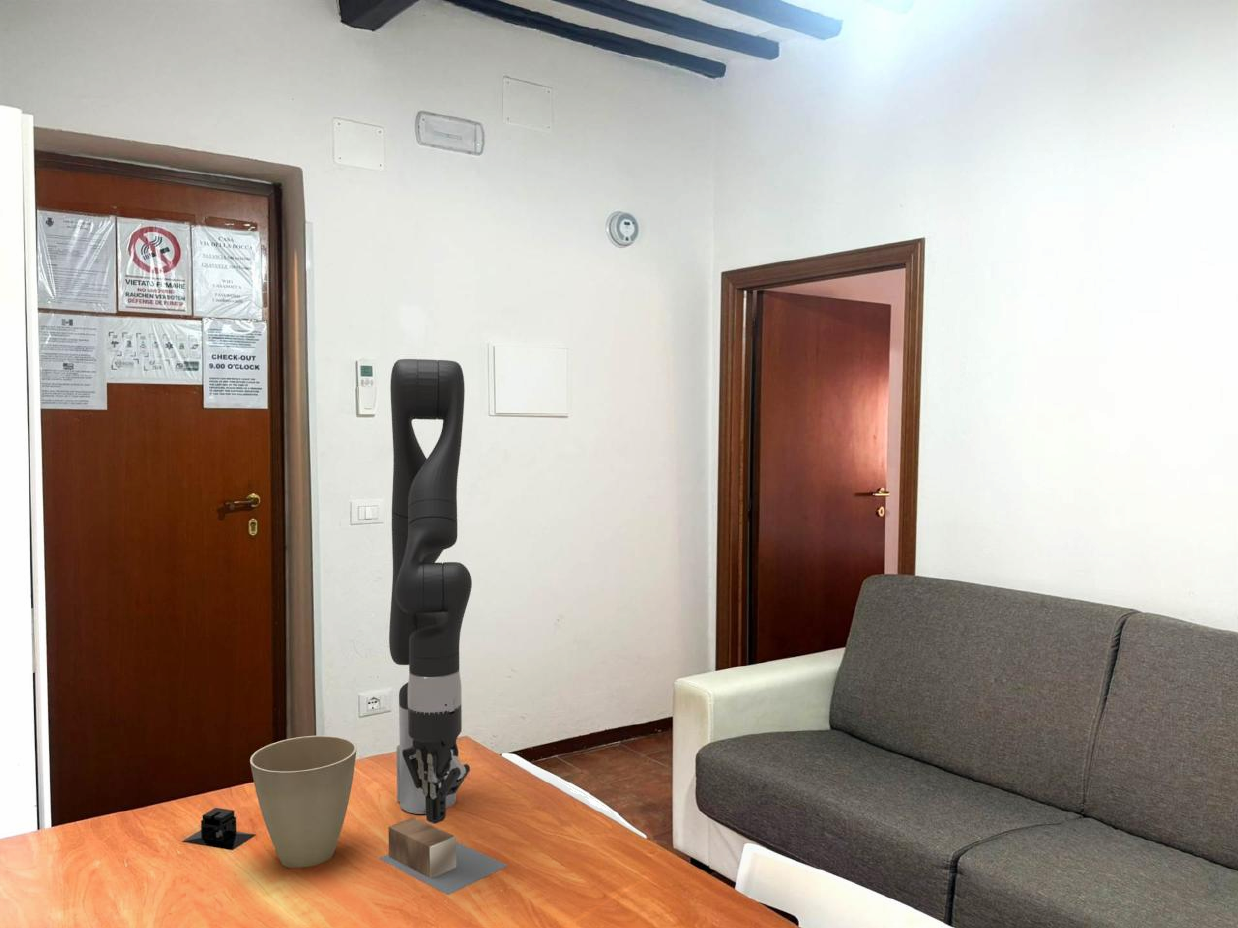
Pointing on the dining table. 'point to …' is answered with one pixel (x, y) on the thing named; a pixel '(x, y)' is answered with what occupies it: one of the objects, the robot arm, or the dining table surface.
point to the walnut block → (422, 847)
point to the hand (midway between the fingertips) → (435, 820)
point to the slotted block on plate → (219, 831)
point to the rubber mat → (456, 870)
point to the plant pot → (304, 795)
